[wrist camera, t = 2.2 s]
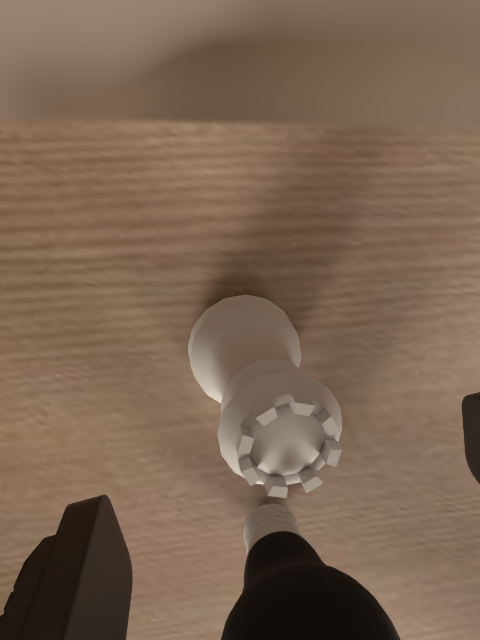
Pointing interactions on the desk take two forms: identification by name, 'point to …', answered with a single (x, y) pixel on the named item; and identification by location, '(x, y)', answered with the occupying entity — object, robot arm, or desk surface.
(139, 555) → the desk surface
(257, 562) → the light bulb
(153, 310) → the desk surface
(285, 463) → the rook chess piece
